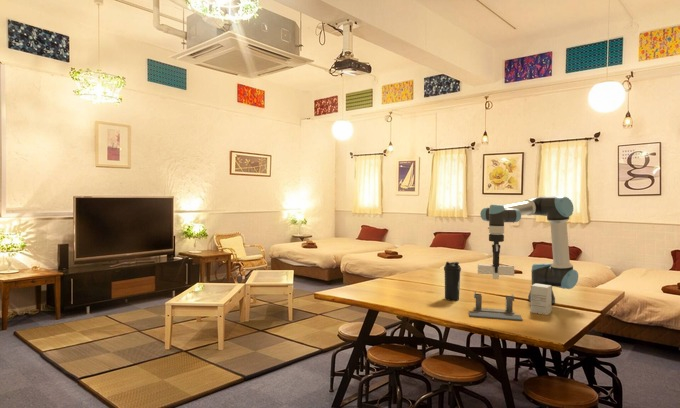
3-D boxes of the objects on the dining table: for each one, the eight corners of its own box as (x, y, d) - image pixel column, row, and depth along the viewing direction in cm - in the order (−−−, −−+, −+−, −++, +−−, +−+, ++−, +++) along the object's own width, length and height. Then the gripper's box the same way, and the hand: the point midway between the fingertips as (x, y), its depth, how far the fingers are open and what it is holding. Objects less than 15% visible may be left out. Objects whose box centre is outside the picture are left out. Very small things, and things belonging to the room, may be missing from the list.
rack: (513, 311, 244) (513, 294, 244) (514, 314, 238) (514, 296, 238) (473, 308, 250) (473, 291, 250) (473, 310, 244) (474, 293, 244)
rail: (513, 274, 232) (513, 266, 232) (514, 275, 228) (514, 267, 228) (477, 272, 237) (477, 264, 237) (477, 273, 233) (477, 265, 233)
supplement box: (534, 309, 250) (535, 283, 249) (551, 312, 244) (552, 285, 244) (529, 312, 243) (530, 285, 242) (547, 315, 237) (547, 287, 237)
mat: (520, 316, 233) (520, 315, 233) (522, 320, 225) (522, 319, 225) (469, 312, 241) (469, 311, 241) (469, 316, 232) (469, 315, 232)
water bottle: (461, 301, 267) (461, 263, 266) (443, 300, 269) (444, 262, 268) (459, 297, 277) (460, 261, 276) (443, 296, 279) (443, 260, 278)
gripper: (488, 232, 241) (487, 275, 241) (489, 234, 225) (488, 280, 226) (502, 233, 239) (501, 276, 239) (505, 235, 223) (504, 281, 223)
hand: (495, 278), depth 232 cm, fingers closed on rail, 3 cm apart
